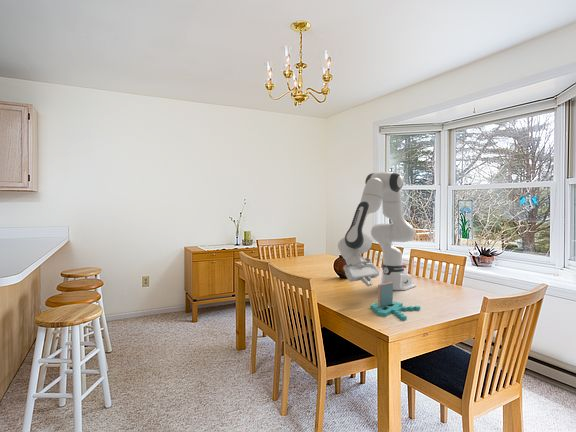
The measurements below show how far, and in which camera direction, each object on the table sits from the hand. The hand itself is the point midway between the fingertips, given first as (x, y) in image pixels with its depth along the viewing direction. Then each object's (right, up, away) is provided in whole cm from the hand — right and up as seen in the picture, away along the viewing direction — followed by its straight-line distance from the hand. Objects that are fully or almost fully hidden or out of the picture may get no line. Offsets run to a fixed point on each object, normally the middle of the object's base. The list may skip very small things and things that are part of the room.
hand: (369, 285), depth 184 cm
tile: (+6, -8, -8) cm, 13 cm away
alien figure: (+8, -11, -11) cm, 18 cm away
